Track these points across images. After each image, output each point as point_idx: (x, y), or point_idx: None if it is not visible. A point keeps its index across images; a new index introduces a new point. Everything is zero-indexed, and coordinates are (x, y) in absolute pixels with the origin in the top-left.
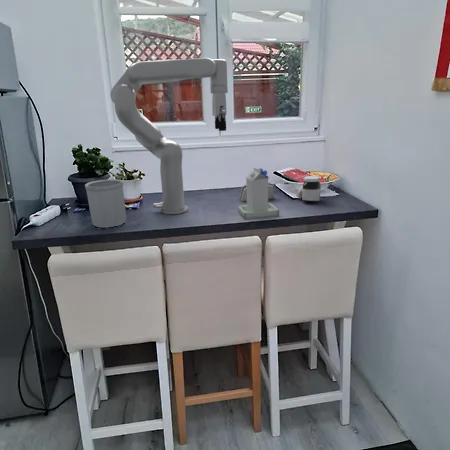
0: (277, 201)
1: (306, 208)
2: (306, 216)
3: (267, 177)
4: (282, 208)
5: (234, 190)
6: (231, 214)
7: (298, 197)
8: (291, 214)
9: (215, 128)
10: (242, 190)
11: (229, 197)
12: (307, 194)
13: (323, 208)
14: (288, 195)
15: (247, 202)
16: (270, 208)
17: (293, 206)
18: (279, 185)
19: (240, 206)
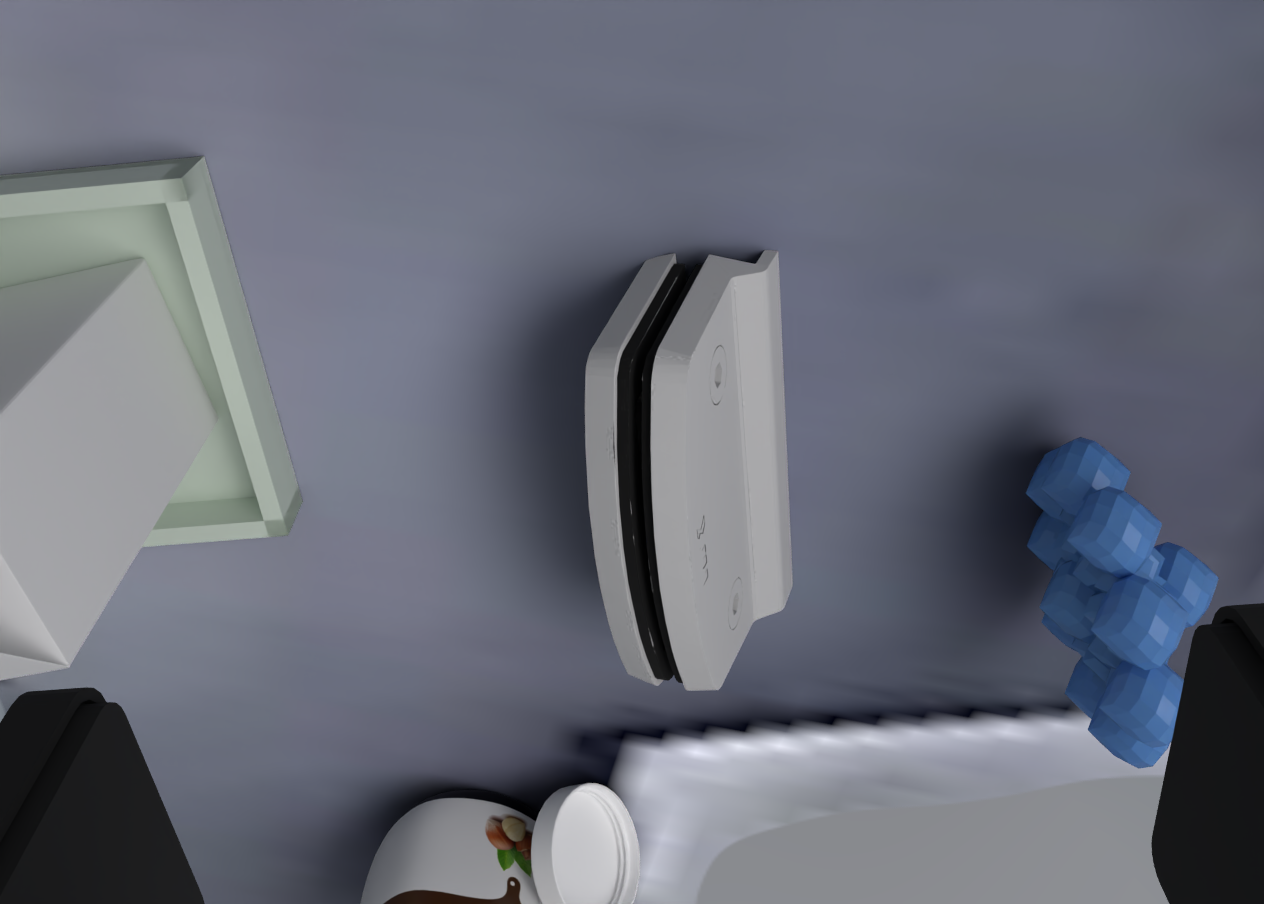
0: (545, 605)
1: (265, 762)
2: None
3: (1085, 711)
4: (282, 597)
5: (1234, 243)
6: (68, 56)
7: (562, 788)
8: None
9: (1229, 613)
10: (668, 332)
11: (882, 128)
12: (380, 871)
13: (255, 861)
14: (746, 732)
15: (74, 306)
16: (230, 499)
17: (341, 690)
18: None
19: (167, 205)
